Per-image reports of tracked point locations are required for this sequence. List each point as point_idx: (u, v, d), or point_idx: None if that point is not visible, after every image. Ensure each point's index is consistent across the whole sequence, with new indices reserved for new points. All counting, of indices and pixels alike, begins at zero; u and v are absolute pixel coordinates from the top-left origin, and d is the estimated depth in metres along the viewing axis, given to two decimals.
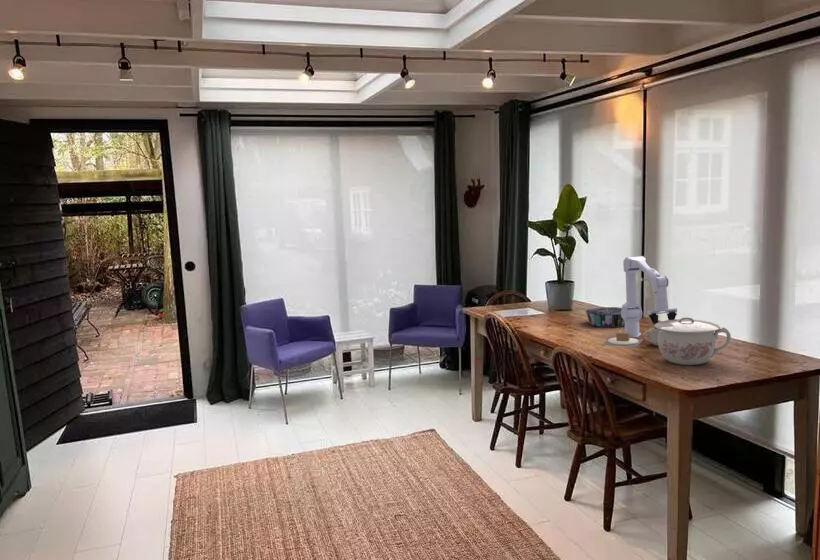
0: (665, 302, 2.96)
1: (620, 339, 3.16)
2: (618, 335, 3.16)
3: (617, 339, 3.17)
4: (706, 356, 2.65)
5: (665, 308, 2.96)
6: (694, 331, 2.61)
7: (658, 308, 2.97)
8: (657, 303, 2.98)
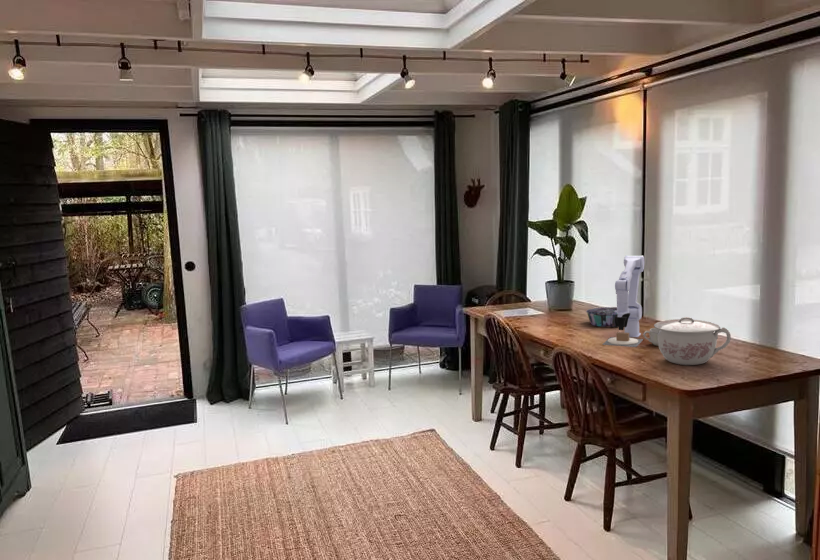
0: None
1: (620, 339, 3.16)
2: (618, 335, 3.16)
3: (617, 339, 3.17)
4: (706, 356, 2.65)
5: None
6: (694, 331, 2.61)
7: None
8: None
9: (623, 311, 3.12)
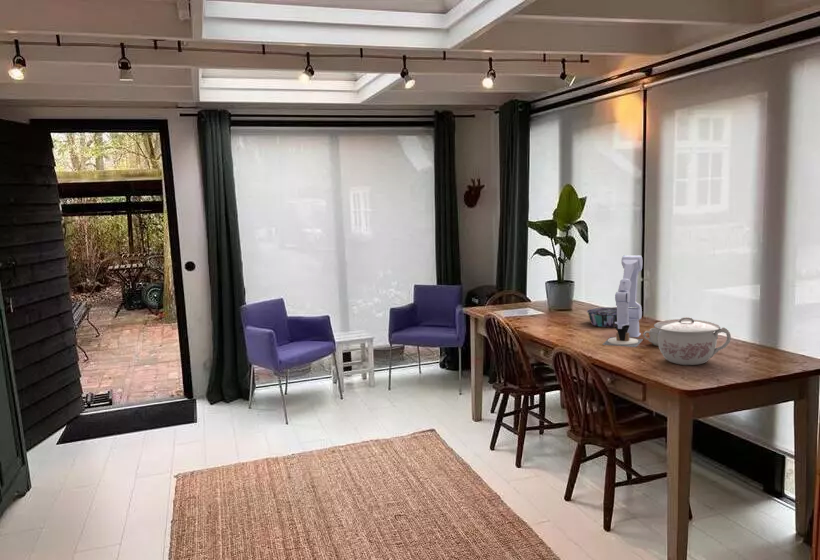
0: (617, 315, 3.16)
1: None
2: (618, 335, 3.16)
3: (617, 339, 3.17)
4: (706, 356, 2.65)
5: None
6: (694, 331, 2.61)
7: None
8: None
9: (623, 323, 3.13)
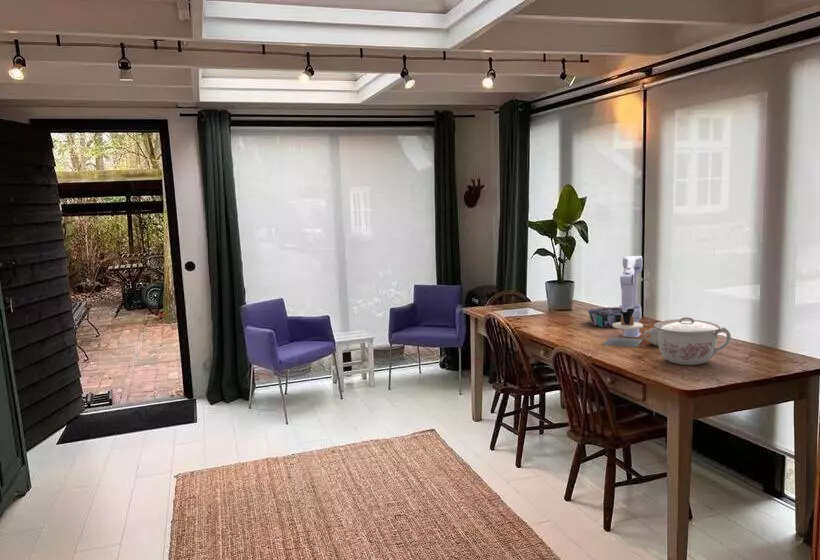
0: None
1: None
2: (623, 319, 3.14)
3: (622, 323, 3.14)
4: (706, 356, 2.65)
5: None
6: (694, 331, 2.61)
7: None
8: None
9: (628, 306, 3.10)
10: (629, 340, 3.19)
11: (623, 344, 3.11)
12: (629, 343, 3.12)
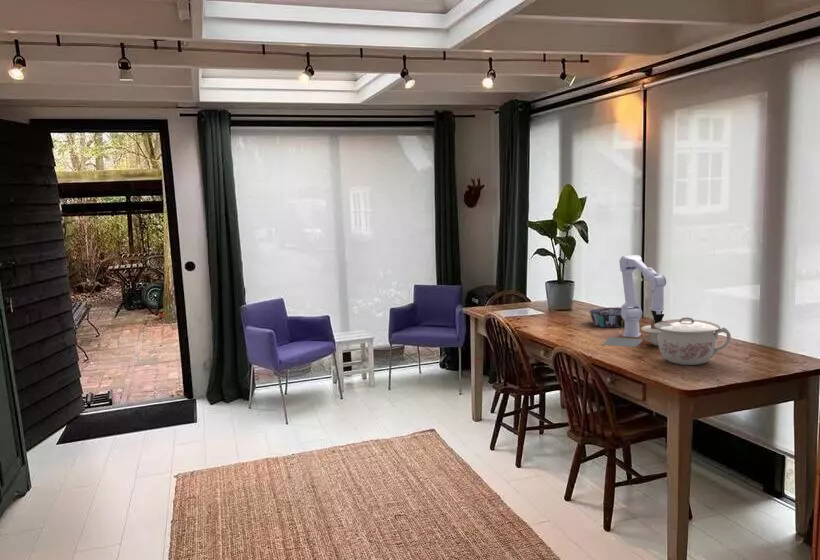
0: (651, 301, 3.05)
1: None
2: (653, 323, 3.06)
3: (652, 327, 3.06)
4: (706, 356, 2.65)
5: (651, 306, 3.06)
6: (694, 331, 2.61)
7: None
8: None
9: (660, 308, 3.03)
10: (629, 340, 3.19)
11: (623, 344, 3.11)
12: (629, 343, 3.12)
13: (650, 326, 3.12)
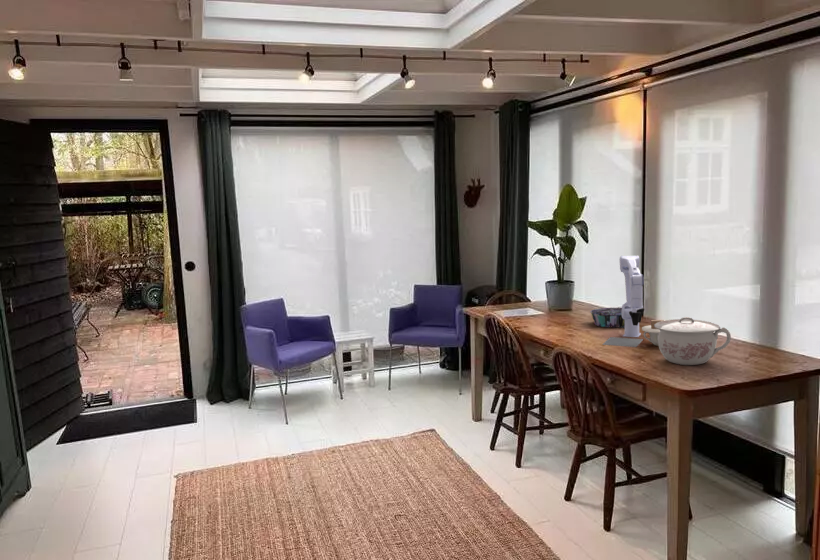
0: (630, 299, 3.11)
1: None
2: (653, 323, 3.06)
3: (652, 327, 3.06)
4: (706, 356, 2.65)
5: (630, 305, 3.12)
6: (694, 331, 2.61)
7: None
8: None
9: (637, 306, 3.08)
10: (629, 340, 3.19)
11: (623, 344, 3.11)
12: (629, 343, 3.12)
13: (650, 326, 3.12)
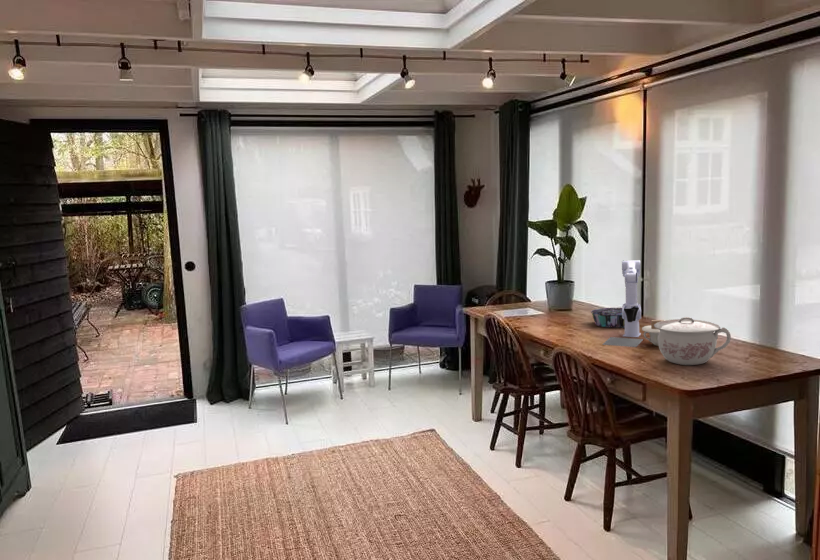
0: None
1: None
2: (653, 323, 3.06)
3: (652, 327, 3.06)
4: (706, 356, 2.65)
5: None
6: (694, 331, 2.61)
7: None
8: None
9: (632, 303, 3.14)
10: (629, 340, 3.19)
11: (623, 344, 3.11)
12: (629, 343, 3.12)
13: (650, 326, 3.12)
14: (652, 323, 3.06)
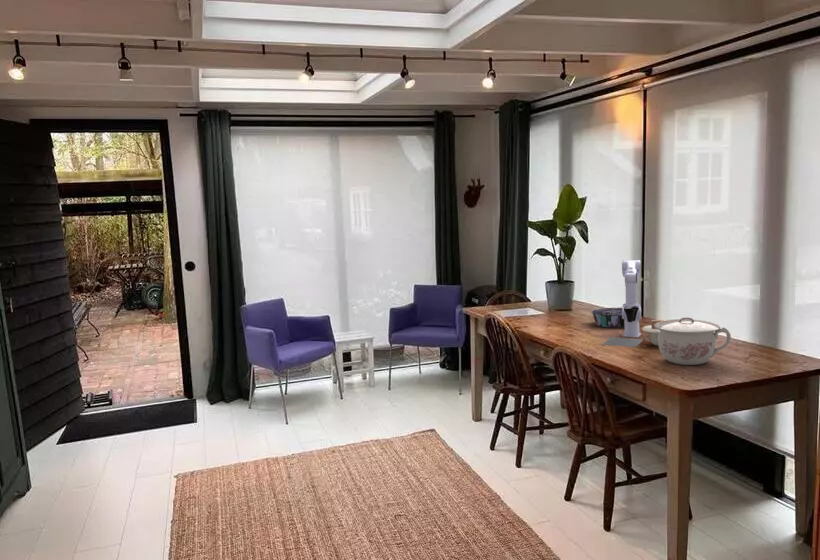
0: None
1: None
2: (653, 323, 3.06)
3: (652, 327, 3.06)
4: (706, 356, 2.65)
5: None
6: (694, 331, 2.61)
7: None
8: None
9: (632, 303, 3.14)
10: (629, 340, 3.19)
11: (623, 344, 3.11)
12: (629, 343, 3.12)
13: (651, 326, 3.12)
14: (652, 323, 3.06)
